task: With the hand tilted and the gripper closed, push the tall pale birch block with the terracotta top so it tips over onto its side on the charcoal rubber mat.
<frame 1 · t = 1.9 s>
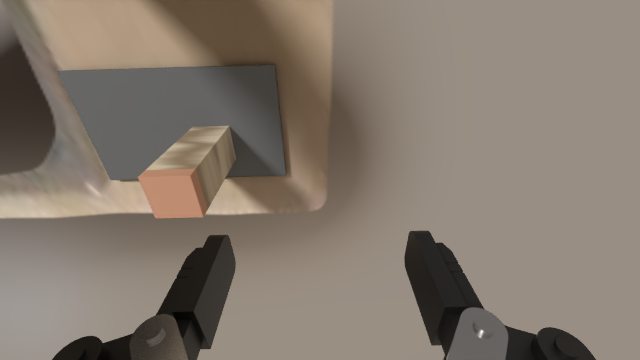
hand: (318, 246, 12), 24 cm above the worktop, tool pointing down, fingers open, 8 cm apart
rubber mat: (185, 127, 34), on the worktop
birch block: (215, 143, 35), point 1 cm above the worktop, touching rubber mat
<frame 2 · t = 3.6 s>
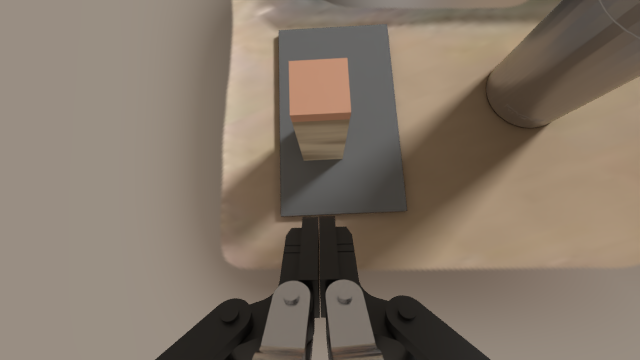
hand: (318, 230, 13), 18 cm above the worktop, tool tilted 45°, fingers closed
rubber mat: (337, 115, 34), on the worktop
birch block: (322, 141, 32), point 1 cm above the worktop, touching rubber mat
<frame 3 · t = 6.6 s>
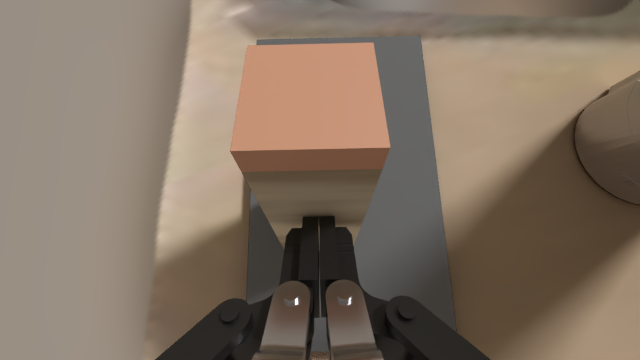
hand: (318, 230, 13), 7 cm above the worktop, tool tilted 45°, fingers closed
rubber mat: (343, 175, 21), on the worktop
birch block: (318, 218, 19), point 1 cm above the worktop, tilted 14°, touching rubber mat
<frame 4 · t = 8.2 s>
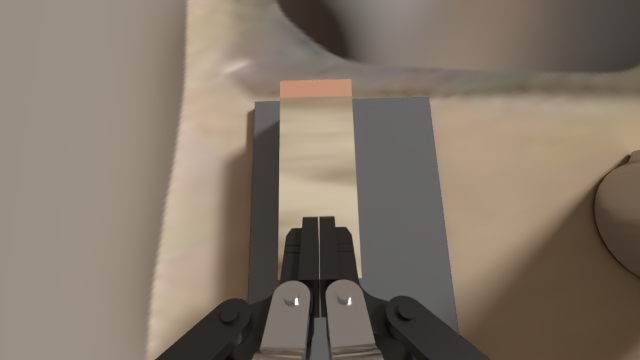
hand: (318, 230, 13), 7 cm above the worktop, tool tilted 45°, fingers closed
rubber mat: (347, 253, 20), on the worktop
birch block: (320, 274, 17), point 3 cm above the worktop, tilted 90°, touching rubber mat
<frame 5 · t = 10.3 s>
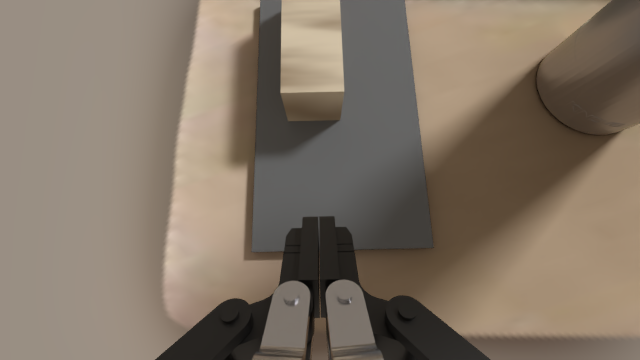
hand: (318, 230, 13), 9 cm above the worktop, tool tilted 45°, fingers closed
rubber mat: (336, 111, 25), on the worktop
birch block: (313, 107, 21), point 3 cm above the worktop, tilted 90°, touching rubber mat
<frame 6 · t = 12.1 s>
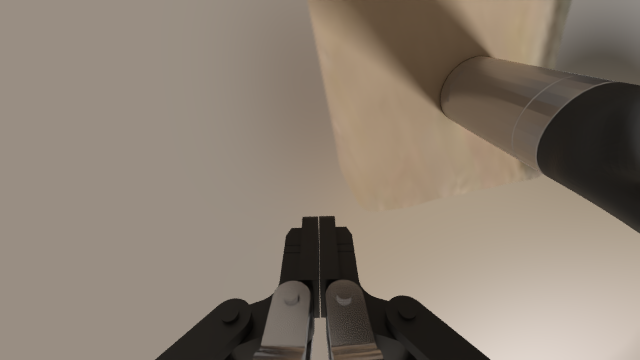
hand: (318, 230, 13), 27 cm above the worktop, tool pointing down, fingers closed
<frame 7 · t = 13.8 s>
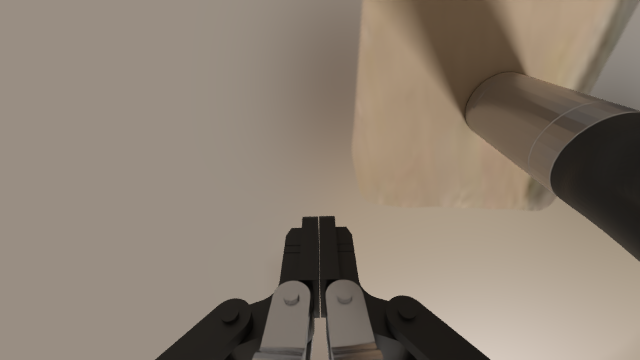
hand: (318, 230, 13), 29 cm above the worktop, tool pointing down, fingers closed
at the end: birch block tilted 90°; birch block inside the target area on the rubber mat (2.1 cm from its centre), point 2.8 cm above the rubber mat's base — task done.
